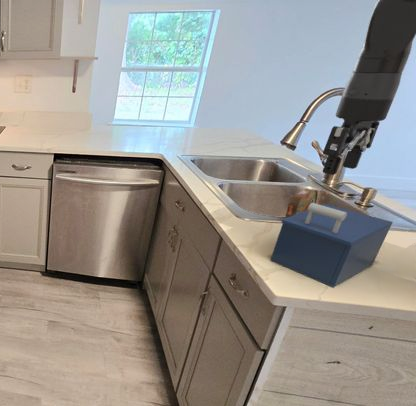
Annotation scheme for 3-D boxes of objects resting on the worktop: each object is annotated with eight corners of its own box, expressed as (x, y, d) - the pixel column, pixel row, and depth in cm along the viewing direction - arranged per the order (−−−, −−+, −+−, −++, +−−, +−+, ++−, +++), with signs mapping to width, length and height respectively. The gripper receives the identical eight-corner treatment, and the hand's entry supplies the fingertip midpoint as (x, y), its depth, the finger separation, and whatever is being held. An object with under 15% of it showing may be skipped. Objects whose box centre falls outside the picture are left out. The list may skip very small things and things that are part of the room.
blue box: (333, 287, 80) (352, 245, 76) (269, 260, 91) (283, 222, 86) (372, 265, 88) (391, 225, 83) (309, 242, 98) (323, 206, 94)
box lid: (350, 246, 76) (360, 221, 73) (281, 222, 86) (288, 200, 84) (391, 225, 83) (402, 201, 81) (323, 205, 94) (331, 184, 91)
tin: (292, 225, 107) (302, 199, 104) (280, 221, 110) (288, 196, 106) (313, 213, 114) (322, 188, 111) (301, 209, 117) (309, 185, 113)
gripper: (375, 100, 69) (344, 181, 75) (409, 94, 74) (377, 170, 80) (326, 96, 75) (301, 171, 81) (361, 91, 80) (335, 161, 87)
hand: (339, 170), depth 81 cm, fingers open, 8 cm apart
